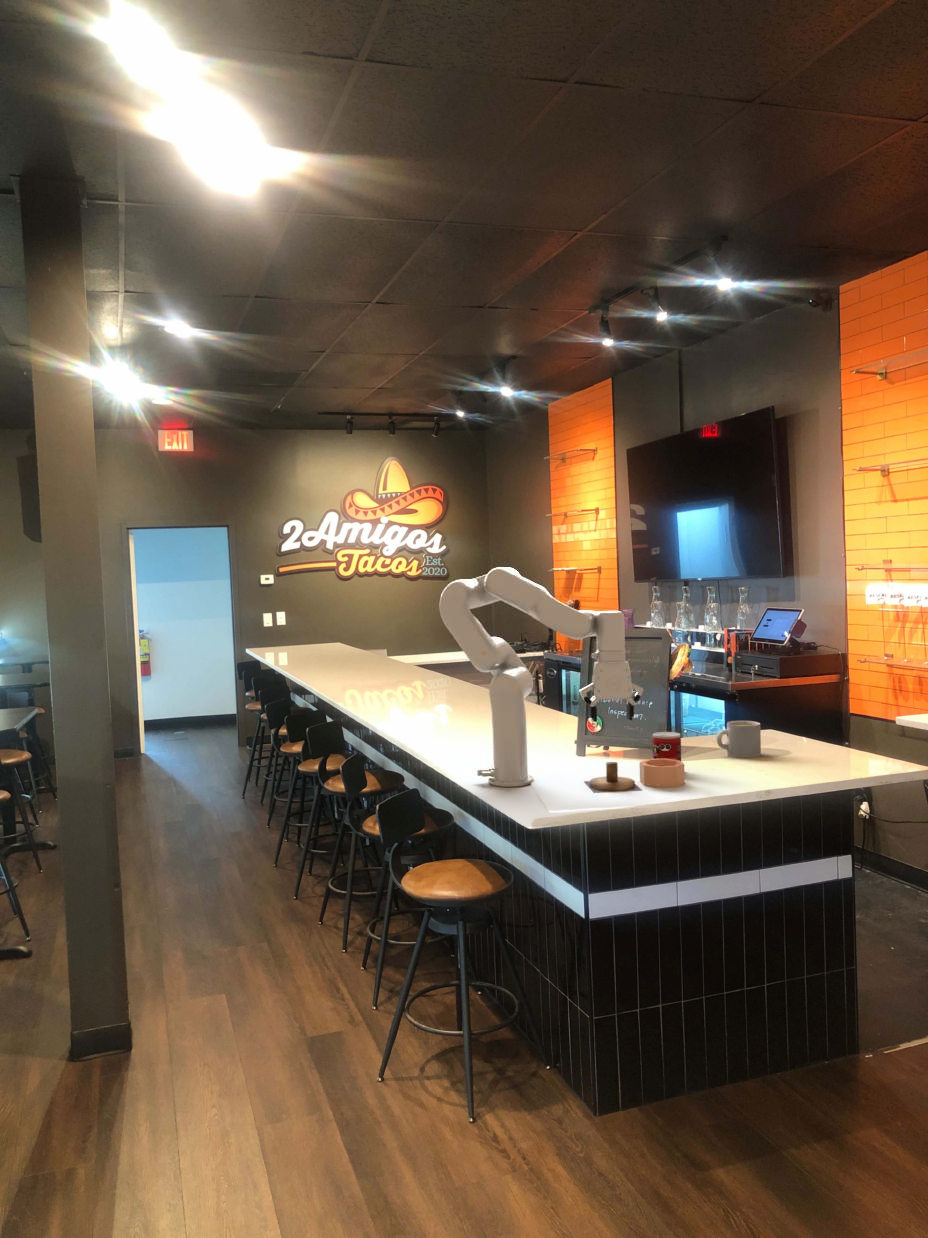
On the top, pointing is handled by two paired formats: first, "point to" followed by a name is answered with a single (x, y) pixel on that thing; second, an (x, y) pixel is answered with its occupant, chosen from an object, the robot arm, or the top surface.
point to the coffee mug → (741, 739)
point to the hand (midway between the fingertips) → (611, 720)
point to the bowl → (662, 773)
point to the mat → (611, 791)
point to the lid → (612, 780)
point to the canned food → (667, 745)
